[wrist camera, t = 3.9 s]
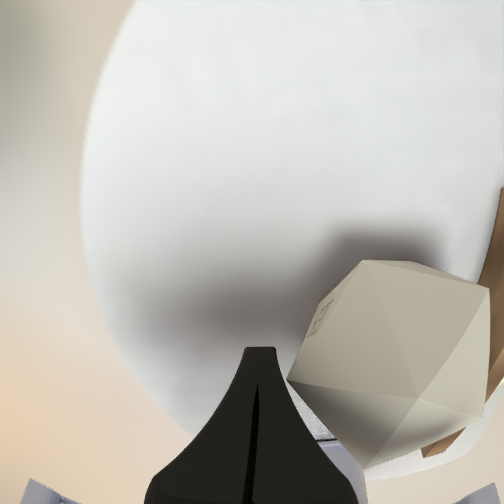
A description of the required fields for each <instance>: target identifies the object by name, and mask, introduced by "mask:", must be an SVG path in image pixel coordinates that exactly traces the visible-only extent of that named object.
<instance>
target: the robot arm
mask: <svg viewBox="0 0 504 504" xmlns="http://www.w3.org/2000/svg"><path fill="white" fill-rule="evenodd" d="M20 504H80V503H78V502H75V501H73V500H70V499H68V498H66V497H63V496H61V495H60V494H59V493H57V492H56V491H54V490H53V489H51V488H49V487H47V486H45V485H43V484H41V483H39V482H37V481H35V480H33V479H29V482H28V485H27V487H26V490H25V492H24V495H23V497H22V500H21V503H20ZM144 504H368V499H367V492H366V485H365V478H364V471H363V467H362V466H361V465H360V464H359V463H358V462H357V461H356V460H355V459H354V458H353V456H352V455H351V454H350V453H349V452H348V451H347V450H346V449H345V448H344V447H343V445H342V444H341V443H340V442H339V441H338V440H335V441H324V442H316V440H315V439H314V437H313V436H312V434H311V433H310V431H309V430H308V428H307V427H306V425H305V423H304V422H303V420H302V418H301V416H300V415H299V413H298V411H297V409H296V407H295V405H294V403H293V401H292V399H291V397H290V394H289V392H288V390H287V387H286V385H285V382H284V380H283V377H282V374H281V371H280V368H279V364H278V360H277V355H276V348H274V347H247V348H245V350H244V353H243V357H242V360H241V362H240V365H239V367H238V370H237V372H236V374H235V377H234V379H233V381H232V383H231V385H230V387H229V389H228V391H227V392H226V394H225V396H224V398H223V399H222V401H221V403H220V404H219V406H218V408H217V409H216V411H215V412H214V414H213V415H212V417H211V418H210V419H209V421H208V422H207V424H206V425H205V426H204V427H203V429H202V430H201V431H200V432H199V434H198V435H197V436H196V437H195V438H194V440H193V441H192V442H191V443H190V444H189V445H188V446H187V447H186V448H185V449H184V450H183V451H182V452H181V453H180V454H179V455H178V456H177V457H176V458H175V459H174V460H173V461H172V462H171V463H169V464H168V465H167V466H166V467H165V468H164V469H162V470H161V471H160V472H159V473H157V474H156V475H155V476H154V477H153V479H152V481H151V483H150V484H149V487H148V489H147V492H146V495H145V500H144ZM453 504H500V500H499V497H498V493H497V489H496V486H495V483H491V484H490V485H487V486H486V487H483V488H481V489H479V490H477V491H475V492H473V493H471V494H469V495H467V496H466V497H464V498H463V499H461V500H460V501H458V502H456V503H453Z"/></svg>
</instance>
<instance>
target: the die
mask: <svg viewBox="0 0 504 504" xmlns="http://www.w3.org/2000/svg"><path fill="white" fill-rule="evenodd" d="M489 353H490V294H489V288H486V287H484V286H481V285H478V284H475V283H473V282H470V281H467V280H465V279H462V278H459V277H456V276H454V275H451V274H448V273H445V272H442V271H439V270H437V269H434V268H431V267H428V266H425V265H422V264H419V263H416V262H413V261H390V260H362V261H361V262H360V263H359V264H358V265H357V266H356V267H355V268H354V269H353V270H352V271H351V272H350V273H349V274H348V275H347V276H346V277H345V278H344V279H343V280H342V281H341V282H340V283H339V284H338V285H337V286H336V287H335V288H334V289H333V290H332V291H331V292H330V293H329V294H328V295H327V296H326V297H325V298H324V299H323V300H322V301H321V302H320V303H319V304H318V307H317V309H316V312H315V314H314V317H313V319H312V322H311V324H310V326H309V329H308V331H307V334H306V336H305V338H304V341H303V343H302V345H301V348H300V350H299V352H298V354H297V357H296V359H295V361H294V363H293V366H292V368H291V370H290V372H289V375H288V377H287V379H286V380H287V382H288V383H289V384H290V385H291V386H292V388H293V389H294V390H295V391H296V392H297V394H298V395H299V396H300V397H301V398H302V400H303V401H304V402H305V403H306V404H307V405H308V407H309V408H310V409H311V410H312V411H313V412H314V414H315V415H316V416H317V417H318V418H319V419H320V421H321V422H322V423H323V424H324V425H325V426H326V427H327V429H328V430H329V431H330V432H331V433H332V434H333V435H334V436H335V438H336V439H337V440H338V441H339V442H340V443H341V444H342V445H343V447H344V448H345V449H346V450H347V451H348V452H349V453H350V454H351V455H352V456H353V458H354V459H355V460H356V461H357V462H358V463H359V464H360V465H361V466H362V467H363V468H368V467H371V466H374V465H377V464H380V463H383V462H386V461H389V460H392V459H395V458H397V457H400V456H403V455H405V454H408V453H410V452H413V451H415V450H418V449H420V448H423V447H425V446H427V445H430V444H432V443H434V442H436V441H439V440H441V439H443V438H445V437H447V436H449V435H451V434H453V433H455V432H457V431H459V430H461V429H463V428H465V427H467V426H469V425H470V424H472V423H474V422H476V421H478V420H479V419H481V418H482V417H483V411H484V404H485V397H486V389H487V379H488V368H489Z"/></svg>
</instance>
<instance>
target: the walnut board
mask: <svg viewBox="0 0 504 504" xmlns="http://www.w3.org/2000/svg"><path fill="white" fill-rule="evenodd" d="M478 285H481V286H484V287H486V288H489V294H490V353H489V368H488V379H487V389H486V397H485V403H486V401H487V400H488V399H489V397H490V396H491V395H492V393H493V392H494V390H495V389H496V387H497V386H498V385H499V383H500V382H501V380H502V379H503V377H504V188H502V191H501V197H500V203H499V208H498V213H497V218H496V222H495V227H494V231H493V235H492V239H491V243H490V247H489V250H488V254H487V258H486V261H485V264H484V268H483V271H482V274H481V277H480V280H479V283H478ZM465 428H466V427H465ZM465 428H463V429H461V430H459V431H457V432H455V433H453V434H451V435H449V436H447V437H445V438H443V439H441V440H439V441H436V442H434V443H432V444H430V445H427V446H425V447H423V448H421V451H422V455H423V458H426V457H429V456H433V455H436V454H439V453H443V452H444V451H445V450H446V449H447V448H448V447H449V446H450V445H451V444H452V443H453V442H454V440H455V439H456V438H457V437H458V436H459V435H460V434H461V433H462V431H463V430H464V429H465Z"/></svg>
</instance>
